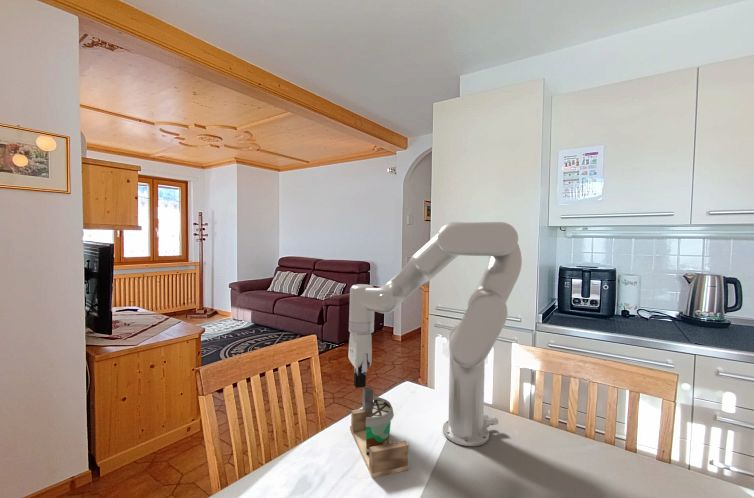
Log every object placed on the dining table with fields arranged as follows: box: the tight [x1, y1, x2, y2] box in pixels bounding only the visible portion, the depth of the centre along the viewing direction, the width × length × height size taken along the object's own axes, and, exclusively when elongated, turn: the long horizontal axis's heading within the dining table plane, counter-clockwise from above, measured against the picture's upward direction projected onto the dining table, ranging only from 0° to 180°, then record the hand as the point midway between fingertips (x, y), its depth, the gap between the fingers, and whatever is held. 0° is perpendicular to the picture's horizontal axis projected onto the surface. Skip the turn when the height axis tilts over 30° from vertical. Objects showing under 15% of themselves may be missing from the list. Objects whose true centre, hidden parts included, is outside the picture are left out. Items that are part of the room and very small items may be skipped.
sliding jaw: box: [350, 386, 374, 431], centre depth 98 cm, size 9×2×11 cm, turn 108°
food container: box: [366, 396, 394, 455], centre depth 90 cm, size 12×6×10 cm, turn 171°
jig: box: [349, 425, 409, 479], centre depth 91 cm, size 9×21×6 cm, turn 18°
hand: (359, 386), depth 105 cm, fingers closed
